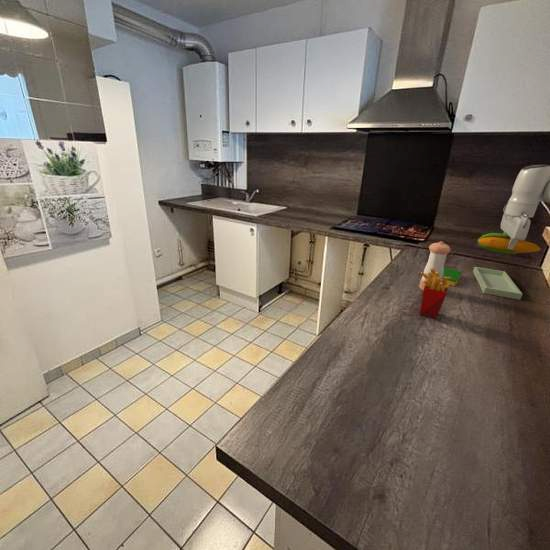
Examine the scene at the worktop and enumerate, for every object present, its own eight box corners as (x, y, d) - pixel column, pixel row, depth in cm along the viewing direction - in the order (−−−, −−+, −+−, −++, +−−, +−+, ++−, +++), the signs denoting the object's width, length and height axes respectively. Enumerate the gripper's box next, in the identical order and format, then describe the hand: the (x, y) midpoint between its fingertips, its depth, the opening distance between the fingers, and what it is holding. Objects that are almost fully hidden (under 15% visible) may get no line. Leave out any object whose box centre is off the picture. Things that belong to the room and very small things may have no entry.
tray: (472, 271, 132) (474, 266, 131) (503, 276, 128) (505, 271, 127) (483, 293, 112) (485, 287, 111) (520, 299, 107) (522, 294, 106)
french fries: (441, 312, 97) (453, 270, 91) (438, 323, 91) (451, 279, 85) (412, 304, 101) (422, 264, 95) (408, 314, 95) (419, 272, 89)
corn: (480, 228, 119) (542, 235, 111) (474, 245, 123) (534, 254, 114) (481, 233, 114) (547, 241, 105) (475, 251, 117) (538, 260, 108)
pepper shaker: (431, 284, 118) (444, 238, 110) (443, 292, 111) (457, 244, 103) (415, 285, 117) (426, 239, 109) (426, 293, 110) (439, 244, 102)
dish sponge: (460, 276, 126) (462, 271, 125) (454, 286, 116) (456, 281, 116) (442, 272, 130) (444, 267, 130) (435, 281, 121) (436, 276, 120)
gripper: (540, 216, 99) (525, 254, 105) (522, 207, 116) (509, 240, 122) (517, 214, 101) (504, 252, 107) (503, 205, 119) (492, 238, 124)
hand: (507, 245), depth 114 cm, fingers closed on corn, 7 cm apart
